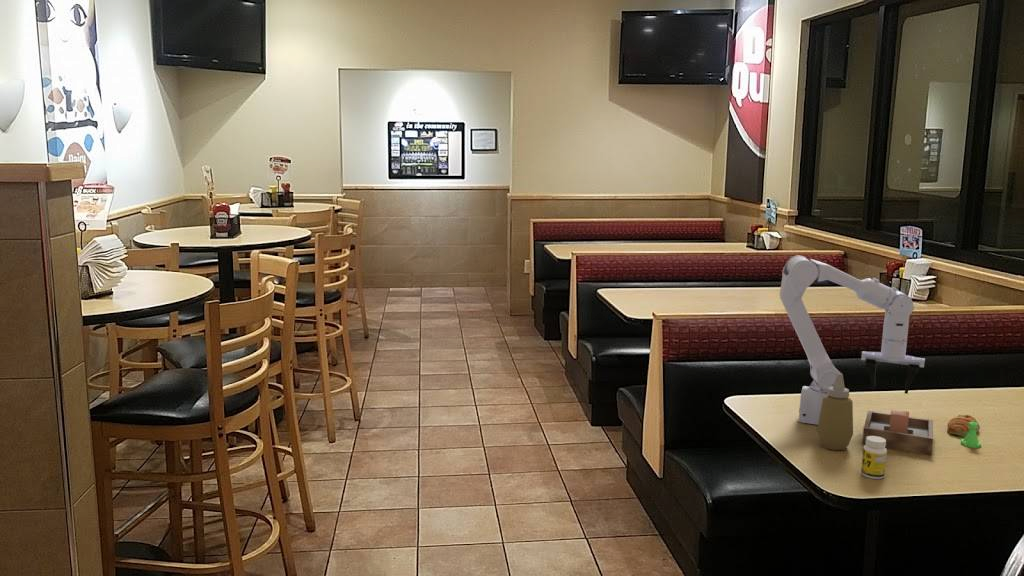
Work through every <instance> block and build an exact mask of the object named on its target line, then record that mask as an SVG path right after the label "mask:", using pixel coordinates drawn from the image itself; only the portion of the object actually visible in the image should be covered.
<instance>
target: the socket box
mask: <svg viewBox="0 0 1024 576" xmlns="http://www.w3.org/2000/svg"><path fill="white" fill-rule="evenodd" d="M890 416H891V413H889V412H888V413H887V412H882V411H881V412H879V411H873V410H867V413H866V417H865V421H864V425H863V429H862V430H863V431H862V432H863V433H862V442H861V444H862V445H866V437H867V436H878V437H882V438H884V439H885V440H886V447H887V448H886V449H890V448H892V449H893V450H896V449H898V450H897V451H903V450H904V452H909V451H911V452H910V453H915V452H917V453H916V454H921V453H922V455H927V456H932V454H933V453H932V452H933V443H934V419H931V418H921V417H914V416H909V420H908V430H907V433H900V432H894V431H889V426H890Z"/></svg>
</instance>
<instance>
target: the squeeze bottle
mask: <svg viewBox="0 0 1024 576" xmlns="http://www.w3.org/2000/svg"><path fill="white" fill-rule="evenodd" d="M840 373H841V372H840ZM840 373H838V374H837V376H836V379H835V382H834V385H833V386H831V387H829V388H828V395H826V396H825V397H824V398H823V402H822V407H821V412H820V417H819V422H818V425H817V429H816V432H817V435H818V438H819V442H820V445H821V447H823V448H825V449H828V450H832V451H833V450H834V451H844V450H847V448H848V446H849V444H850V442H851V440H852V437H854V412H853V411H854V409H853V407H854V406H853V405H854V404H853V400H852V399H851V398H850V397H849V396H850V390H849V388H846V387H845V381H844V375H843V373H841V374H840Z"/></svg>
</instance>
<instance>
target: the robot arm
mask: <svg viewBox="0 0 1024 576" xmlns="http://www.w3.org/2000/svg"><path fill="white" fill-rule="evenodd" d="M781 273H782V274H781V275H782V277H781V283H780V288H779V289H780V290H779V299H780V300H781V303H782V305H783V307H784V310H785V312H786V314H787V315H788V318H789V321H790V322H791V324H792V327H793V329H794V330H795V333H796V335H797V337H798V339H799V342H800V343H801V345H802V348H803V350H804V352H805V354H806V357H807V360H808V363H809V366H810V367H809V368H810V370H809V371H810V372H809V374H810V376H811V378H812V379H813V380H812V382H811V383H810V385H809V386H808V385H807V386H806V385H803V386H802V389H801V392H800V398H799V399H800V402H799V408H798V414H799V415H798V422H799V423H802V424H810V425H816V426H818V422H819V417H820V412H821V407H822V402H823V398H824V397H825V396H826V395H828V388H829V387H831V386H833V385H834V382H835V379H836V376H837V374H838V373H840V374H842V372H841V371H839V369H837V368H836V367H835V365H834V364H833V361H832V360H831V359H830V357H829V355H828V353H827V351H826V349H825V347H824V345H823V343H822V340H821V339H820V336H819V334H818V332H817V330H816V328H815V325H814V323H813V321H812V319H811V316H810V314H809V313H808V311H807V310H808V309H807V308H806V305H805V304H804V302H803V299H802V298H803V296H804V294H805V292H806V290H807V288H809V287H810V286H811V285H812V284H813V283H815V281H817V282H818V283H819V282H824V281H829V282H832V283H834V284H837V285H839V286H842V287H844V288H847V289H849V290H852V291H854V292H855V294H856V297H857V299H859V300H861V301H863V302H865V303H868V304H871V305H872V306H874V307H877V308H879V309H881V310H883V309H884V320H883V328H882V337H881V338H882V339H881V349H880V351H864V350H863V351H861V361H865V362H864V363H865V367H866V370H867V372H868V374H869V378H870V382H871V383H870V384H871V390H875V388H876V373H877V372H876V371H877V364H878V362H880V363H887V364H895V365H896V364H897V365H906V366H908V367H907V373H906V374H907V376H906V382H905V387H904V394H909V389H910V386H911V384H912V382H913V380H914V378H915V377H916V375H917V374H918V372H919V371H920V368H925V361H926V358H925V357H924V358H923V357H917V356H913V355H908V354H907V355H906V353H907V345H908V337H909V336H908V334H909V324H910V321H909V320H910V315H911V314H912V313H913V312H914V310H915V305H914V302H913V300H912V299H911V297H910V296H909V295H908V294H905V293H904V292H902V291H900V290H899V289H898V288H896V287H895V286H892V287H890V286H887V285H886V284H883V283H881V281H880V280H879V279H878V278H876V277H873V278H870V277H869V278H868V277H867V278H863V279H858V278H857V277H854V276H852V275H851V274H848V273H846V272H845V271H842V270H840V269H838V268H836V267H834V266H832V265H830V264H828V263H825V262H822V261H819V260H816V259H813V258H809V259H808V258H807V257H806V256H803V255H800V254H799V255H794V256H791V257H790V258H789V259H788V260H787V262H786V263H785V265H784V267H783V269H782V271H781Z"/></svg>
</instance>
